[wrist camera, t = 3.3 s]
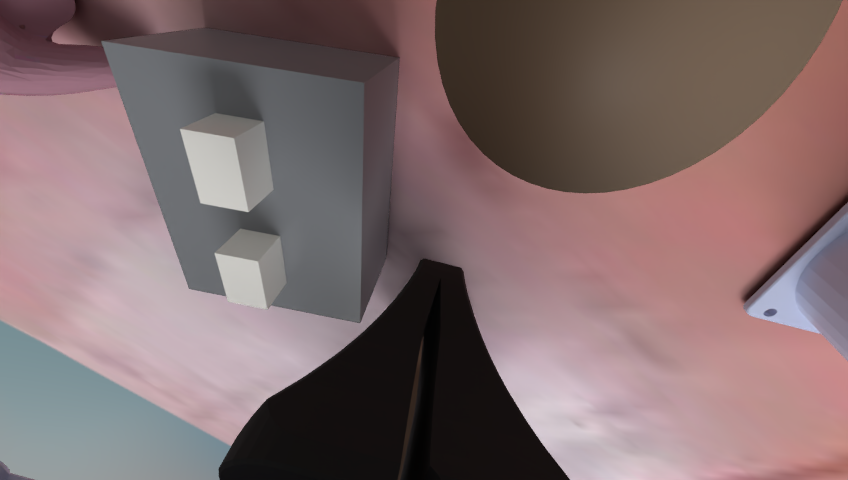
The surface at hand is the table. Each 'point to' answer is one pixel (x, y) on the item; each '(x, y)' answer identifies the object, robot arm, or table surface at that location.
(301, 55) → the block
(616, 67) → the walnut post
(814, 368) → the table surface
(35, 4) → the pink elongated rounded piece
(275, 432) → the robot arm
